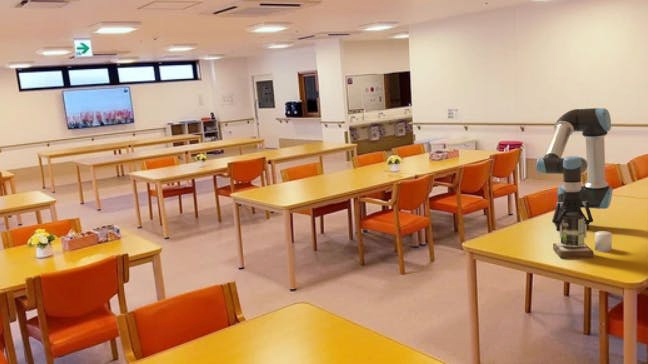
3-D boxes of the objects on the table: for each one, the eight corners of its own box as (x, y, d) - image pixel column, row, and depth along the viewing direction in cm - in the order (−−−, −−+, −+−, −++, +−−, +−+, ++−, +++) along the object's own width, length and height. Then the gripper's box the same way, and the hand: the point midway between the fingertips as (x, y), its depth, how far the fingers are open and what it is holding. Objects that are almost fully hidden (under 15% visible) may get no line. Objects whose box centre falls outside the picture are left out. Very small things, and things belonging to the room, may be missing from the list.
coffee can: (567, 248, 250) (567, 218, 248) (556, 242, 261) (556, 213, 258) (589, 245, 251) (589, 216, 249) (577, 240, 261) (577, 211, 259)
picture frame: (553, 249, 265) (553, 243, 264) (583, 248, 262) (583, 242, 262) (560, 258, 251) (560, 251, 250) (593, 257, 249) (593, 250, 248)
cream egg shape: (593, 247, 263) (593, 231, 262) (608, 247, 262) (608, 230, 260) (597, 252, 256) (597, 235, 255) (613, 251, 255) (614, 234, 254)
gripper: (548, 193, 250) (548, 240, 254) (601, 190, 246) (601, 238, 250) (544, 190, 257) (545, 236, 261) (595, 187, 253) (595, 234, 257)
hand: (572, 237), depth 255 cm, fingers closed on coffee can, 10 cm apart
